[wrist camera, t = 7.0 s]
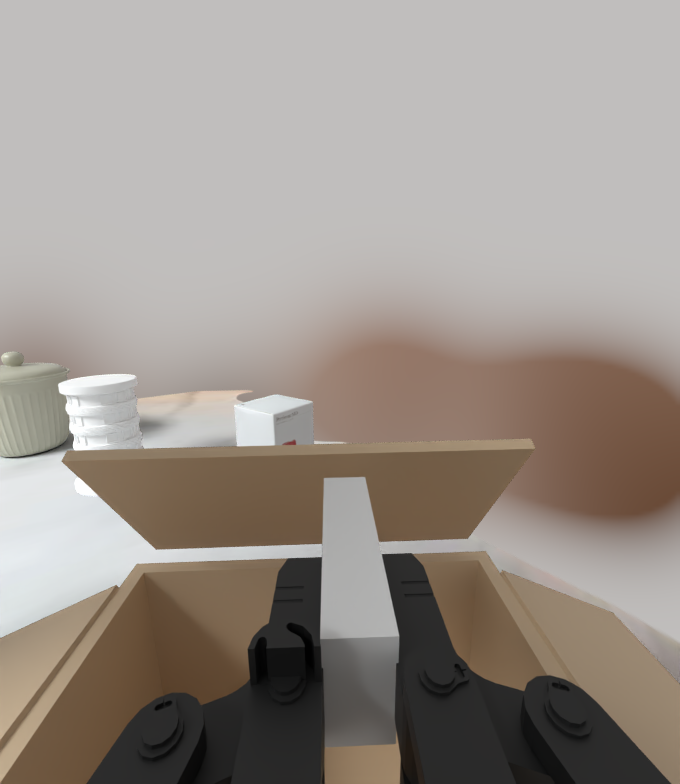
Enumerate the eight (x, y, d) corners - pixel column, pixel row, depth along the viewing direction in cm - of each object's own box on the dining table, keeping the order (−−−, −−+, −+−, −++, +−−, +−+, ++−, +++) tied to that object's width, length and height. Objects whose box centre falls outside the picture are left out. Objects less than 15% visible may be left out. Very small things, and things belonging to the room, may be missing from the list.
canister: (-52, 465, 71) (-82, 358, 66) (30, 433, 89) (11, 347, 84) (35, 466, 70) (10, 357, 65) (101, 434, 88) (85, 346, 83)
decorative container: (160, 463, 71) (147, 372, 67) (140, 492, 60) (124, 385, 56) (94, 468, 69) (77, 375, 65) (61, 500, 58) (38, 389, 54)
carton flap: (467, 538, 23) (535, 448, 15) (156, 549, 23) (61, 461, 15) (465, 530, 24) (530, 439, 16) (158, 541, 23) (67, 450, 15)
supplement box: (277, 511, 54) (272, 414, 50) (238, 493, 59) (231, 404, 56) (317, 486, 61) (314, 400, 58) (279, 472, 66) (275, 393, 63)
